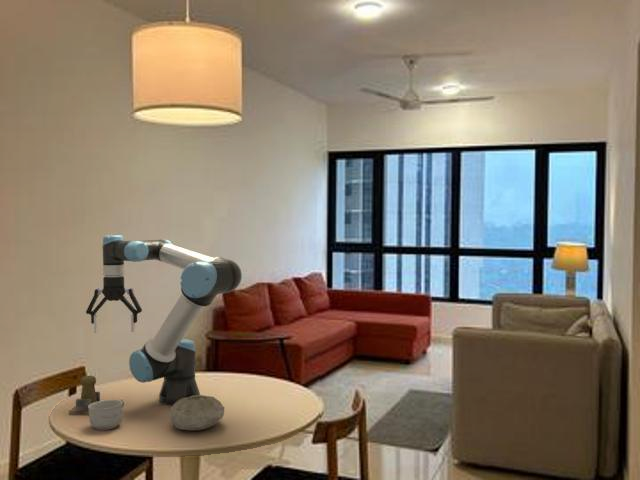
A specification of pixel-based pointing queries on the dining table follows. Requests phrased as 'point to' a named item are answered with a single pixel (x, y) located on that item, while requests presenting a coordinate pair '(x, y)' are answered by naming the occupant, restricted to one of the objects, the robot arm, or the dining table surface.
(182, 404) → the grey stone
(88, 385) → the cork
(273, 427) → the dining table surface
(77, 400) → the stand
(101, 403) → the teacup
